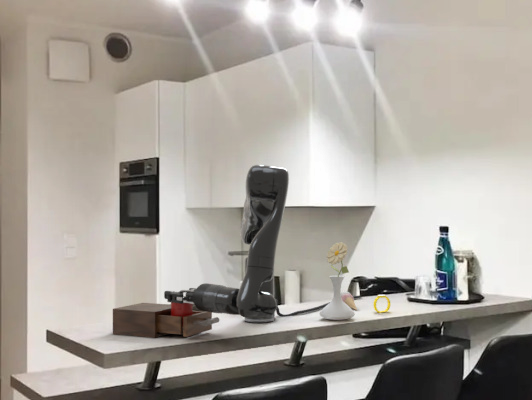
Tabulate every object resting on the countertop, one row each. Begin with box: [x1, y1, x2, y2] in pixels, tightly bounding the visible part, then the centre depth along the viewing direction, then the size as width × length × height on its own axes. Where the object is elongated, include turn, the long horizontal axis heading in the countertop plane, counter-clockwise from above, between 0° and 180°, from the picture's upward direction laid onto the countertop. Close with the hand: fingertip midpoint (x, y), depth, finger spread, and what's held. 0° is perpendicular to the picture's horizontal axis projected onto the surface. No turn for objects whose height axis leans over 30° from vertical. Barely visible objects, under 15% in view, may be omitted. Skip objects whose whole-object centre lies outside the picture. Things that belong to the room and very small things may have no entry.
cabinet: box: [112, 302, 171, 339], centre depth 204 cm, size 15×14×7 cm
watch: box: [373, 294, 391, 314], centre depth 241 cm, size 6×3×6 cm, turn 115°
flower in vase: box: [319, 241, 356, 321], centre depth 226 cm, size 13×11×25 cm
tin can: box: [170, 300, 194, 329], centre depth 200 cm, size 6×6×8 cm
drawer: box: [156, 310, 220, 338], centre depth 199 cm, size 18×12×5 cm
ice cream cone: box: [341, 290, 358, 311], centre depth 253 cm, size 5×5×15 cm
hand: (177, 293), depth 201 cm, fingers open, 8 cm apart
